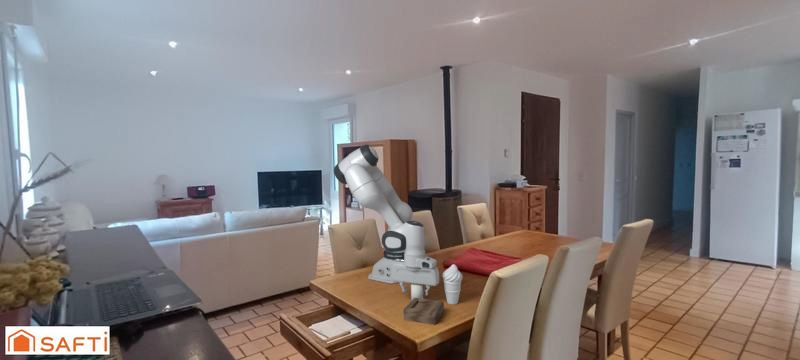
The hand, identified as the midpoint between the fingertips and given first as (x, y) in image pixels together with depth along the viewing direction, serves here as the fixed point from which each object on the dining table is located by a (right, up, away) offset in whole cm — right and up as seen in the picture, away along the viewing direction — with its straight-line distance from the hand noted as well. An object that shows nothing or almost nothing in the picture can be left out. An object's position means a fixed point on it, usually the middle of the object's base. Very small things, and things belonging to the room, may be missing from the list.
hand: (415, 293), depth 152 cm
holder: (+3, -4, -13) cm, 14 cm away
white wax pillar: (+1, -4, +1) cm, 4 cm away
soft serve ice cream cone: (+15, -4, -1) cm, 16 cm away
